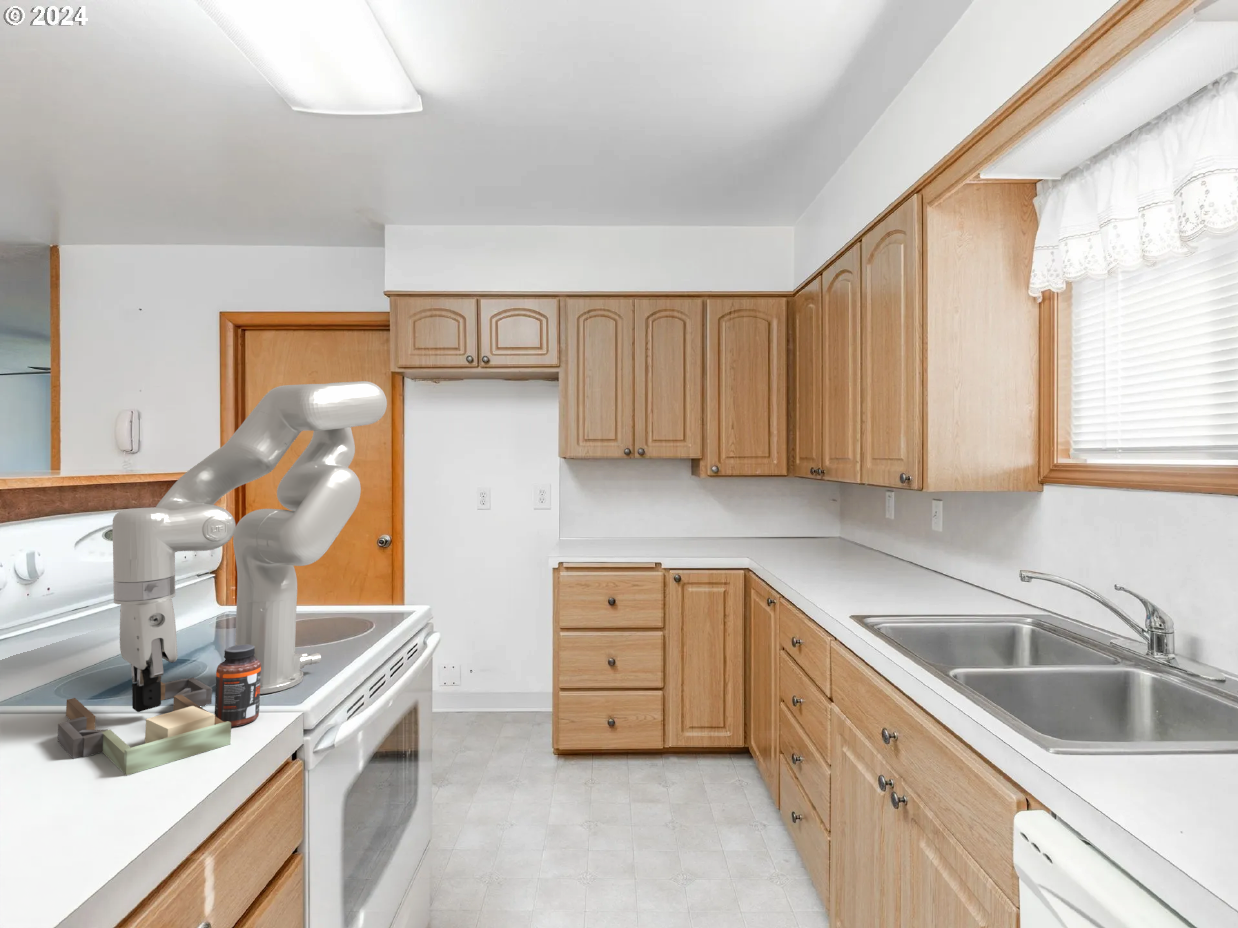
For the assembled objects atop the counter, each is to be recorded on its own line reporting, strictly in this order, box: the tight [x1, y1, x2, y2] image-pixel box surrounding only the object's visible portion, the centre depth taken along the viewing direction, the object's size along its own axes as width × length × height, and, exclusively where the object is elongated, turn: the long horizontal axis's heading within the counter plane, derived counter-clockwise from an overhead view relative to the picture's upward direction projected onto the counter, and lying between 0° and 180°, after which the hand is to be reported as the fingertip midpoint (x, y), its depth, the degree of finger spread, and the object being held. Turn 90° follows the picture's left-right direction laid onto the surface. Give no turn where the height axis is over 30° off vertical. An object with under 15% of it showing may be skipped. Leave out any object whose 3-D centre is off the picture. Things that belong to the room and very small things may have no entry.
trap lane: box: [57, 677, 232, 776], centre depth 93 cm, size 19×29×3 cm, turn 53°
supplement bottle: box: [214, 645, 261, 728], centre depth 96 cm, size 6×6×11 cm
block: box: [144, 706, 215, 744], centre depth 88 cm, size 6×6×4 cm
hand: (146, 707), depth 96 cm, fingers closed
